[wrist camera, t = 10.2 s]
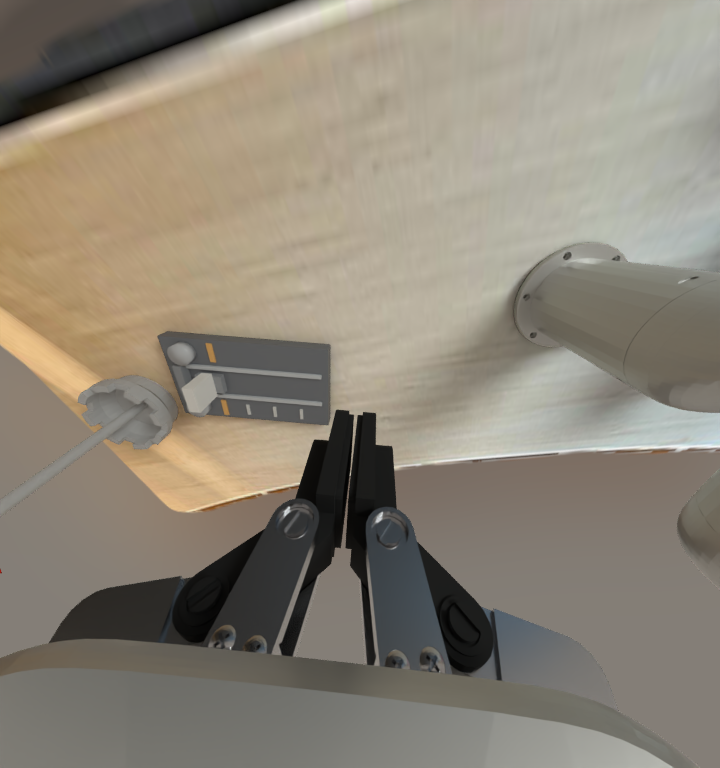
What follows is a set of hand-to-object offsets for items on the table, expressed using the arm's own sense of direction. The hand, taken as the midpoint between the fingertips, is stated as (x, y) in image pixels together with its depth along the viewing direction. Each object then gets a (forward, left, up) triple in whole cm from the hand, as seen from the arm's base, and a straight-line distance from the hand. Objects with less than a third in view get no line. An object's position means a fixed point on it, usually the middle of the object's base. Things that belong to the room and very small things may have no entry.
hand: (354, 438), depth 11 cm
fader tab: (+24, +14, -25) cm, 37 cm away
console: (+18, +14, -27) cm, 35 cm away
